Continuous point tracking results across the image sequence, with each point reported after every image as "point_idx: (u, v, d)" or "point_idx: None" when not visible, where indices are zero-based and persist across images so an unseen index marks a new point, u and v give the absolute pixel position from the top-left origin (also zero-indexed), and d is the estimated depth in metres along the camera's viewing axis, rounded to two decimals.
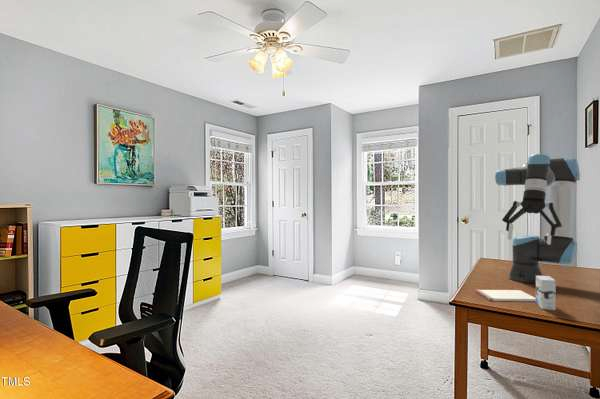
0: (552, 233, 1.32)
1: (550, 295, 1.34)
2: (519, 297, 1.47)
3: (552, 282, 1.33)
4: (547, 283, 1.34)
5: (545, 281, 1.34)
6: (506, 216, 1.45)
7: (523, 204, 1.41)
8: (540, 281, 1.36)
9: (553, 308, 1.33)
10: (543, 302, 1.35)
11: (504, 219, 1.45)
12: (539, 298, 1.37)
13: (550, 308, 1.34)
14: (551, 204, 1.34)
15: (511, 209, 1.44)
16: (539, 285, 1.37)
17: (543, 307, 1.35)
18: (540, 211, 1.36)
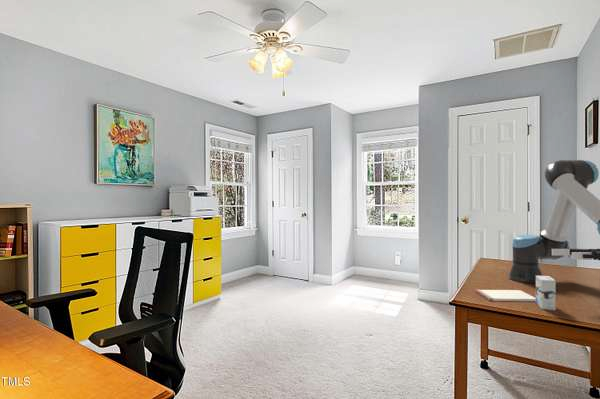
0: None
1: (550, 295, 1.34)
2: (519, 297, 1.47)
3: (552, 282, 1.33)
4: (547, 283, 1.34)
5: (545, 281, 1.34)
6: None
7: None
8: (540, 281, 1.36)
9: (553, 308, 1.33)
10: (543, 302, 1.35)
11: None
12: (539, 298, 1.37)
13: (550, 308, 1.34)
14: None
15: None
16: (539, 285, 1.37)
17: (543, 307, 1.35)
18: None
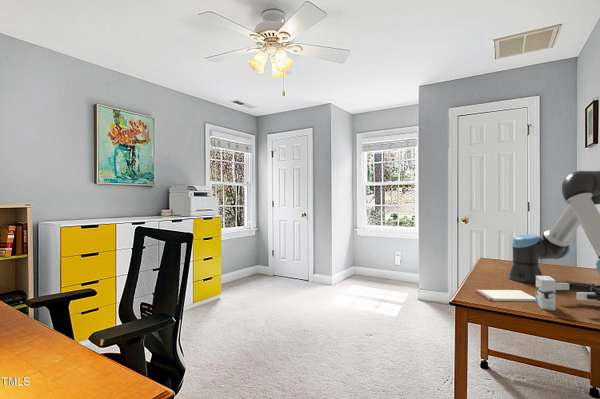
0: None
1: (550, 295, 1.34)
2: (519, 297, 1.47)
3: (552, 282, 1.33)
4: (547, 283, 1.34)
5: (545, 281, 1.34)
6: None
7: None
8: (540, 281, 1.36)
9: (553, 308, 1.33)
10: (543, 302, 1.35)
11: None
12: (539, 298, 1.37)
13: (550, 308, 1.34)
14: None
15: None
16: (539, 285, 1.37)
17: (543, 307, 1.35)
18: None
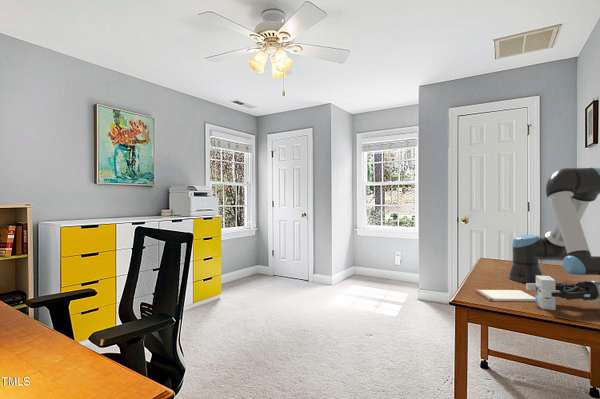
0: None
1: None
2: (519, 297, 1.47)
3: (552, 282, 1.33)
4: (547, 283, 1.34)
5: (545, 281, 1.34)
6: None
7: None
8: (540, 281, 1.36)
9: (553, 308, 1.33)
10: (543, 302, 1.35)
11: None
12: (539, 298, 1.37)
13: (550, 308, 1.34)
14: None
15: None
16: (539, 285, 1.37)
17: (543, 307, 1.35)
18: None
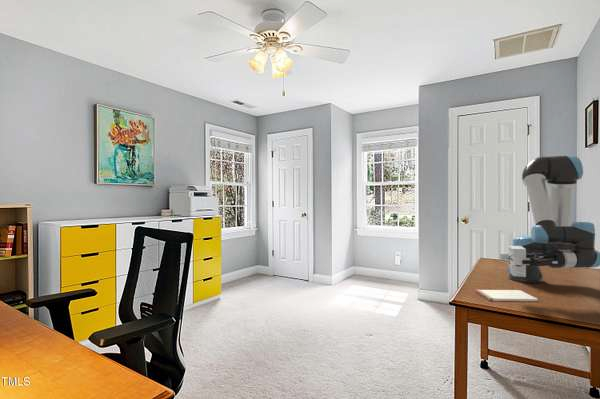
0: None
1: None
2: (519, 297, 1.47)
3: (523, 250, 1.42)
4: (518, 251, 1.42)
5: (516, 250, 1.42)
6: (540, 265, 1.39)
7: None
8: (512, 250, 1.44)
9: (524, 275, 1.42)
10: (514, 269, 1.43)
11: None
12: (511, 266, 1.46)
13: (521, 275, 1.42)
14: None
15: None
16: (511, 254, 1.45)
17: (514, 274, 1.43)
18: None
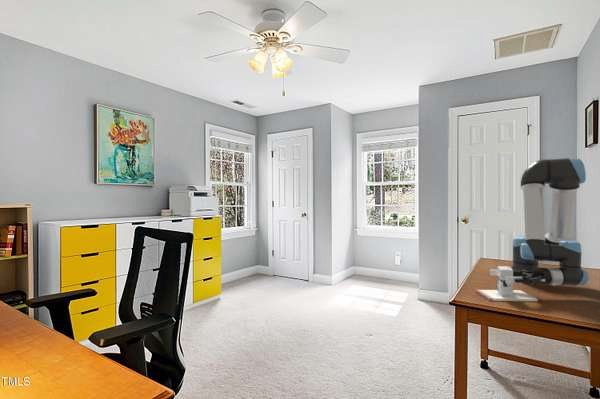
0: None
1: (508, 283, 1.47)
2: (519, 297, 1.47)
3: (510, 271, 1.47)
4: (505, 272, 1.48)
5: (504, 271, 1.48)
6: None
7: None
8: (500, 271, 1.50)
9: (511, 295, 1.47)
10: (502, 290, 1.48)
11: None
12: (499, 286, 1.51)
13: (508, 295, 1.48)
14: None
15: None
16: (499, 274, 1.51)
17: (502, 294, 1.48)
18: None
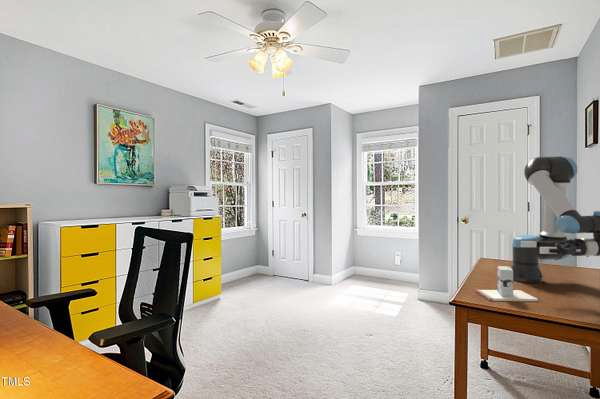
0: None
1: (508, 283, 1.47)
2: (519, 297, 1.47)
3: (510, 271, 1.47)
4: (506, 272, 1.48)
5: (504, 271, 1.48)
6: None
7: None
8: (500, 271, 1.50)
9: (511, 295, 1.47)
10: (502, 290, 1.48)
11: None
12: (499, 286, 1.51)
13: (508, 295, 1.48)
14: None
15: None
16: (499, 274, 1.51)
17: (502, 294, 1.48)
18: None
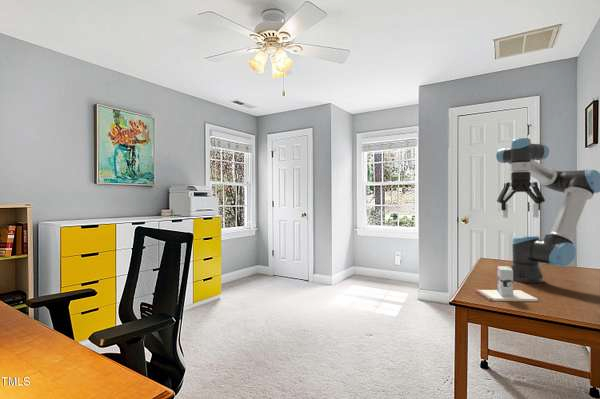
0: (538, 208, 1.57)
1: (508, 283, 1.47)
2: (519, 297, 1.47)
3: (510, 271, 1.47)
4: (506, 272, 1.48)
5: (504, 271, 1.48)
6: (502, 197, 1.57)
7: (515, 185, 1.57)
8: (500, 271, 1.50)
9: (511, 295, 1.47)
10: (502, 290, 1.48)
11: (501, 200, 1.57)
12: (499, 286, 1.51)
13: (508, 295, 1.48)
14: (536, 183, 1.56)
15: (506, 190, 1.57)
16: (499, 274, 1.51)
17: (502, 294, 1.48)
18: (530, 190, 1.56)
